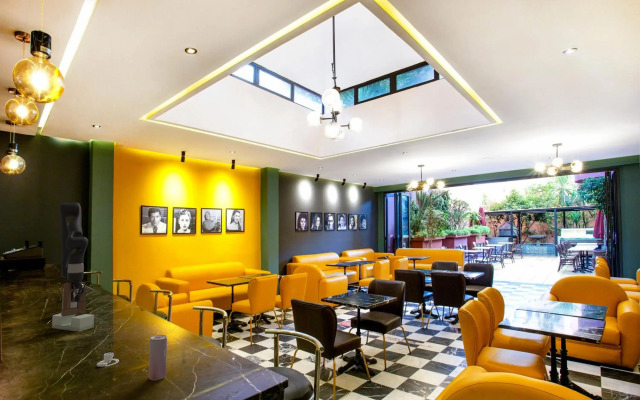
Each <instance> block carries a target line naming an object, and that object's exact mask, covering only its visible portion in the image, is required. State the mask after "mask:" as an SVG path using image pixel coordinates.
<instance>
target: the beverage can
mask: <svg viewBox="0 0 640 400" xmlns="http://www.w3.org/2000/svg"><path fill="white" fill-rule="evenodd" d="M167 349H168V339H167V335H164V334H159V335H158V334H156V335H153V336H151V337H150V340H149V350H148V351H149V354H148V356H149V357H148V358H149V359H148V379H149V380H150V381H154V382H155V381H159V380H162V379H164V378H166V376H167V351H168V350H167Z"/></svg>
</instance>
